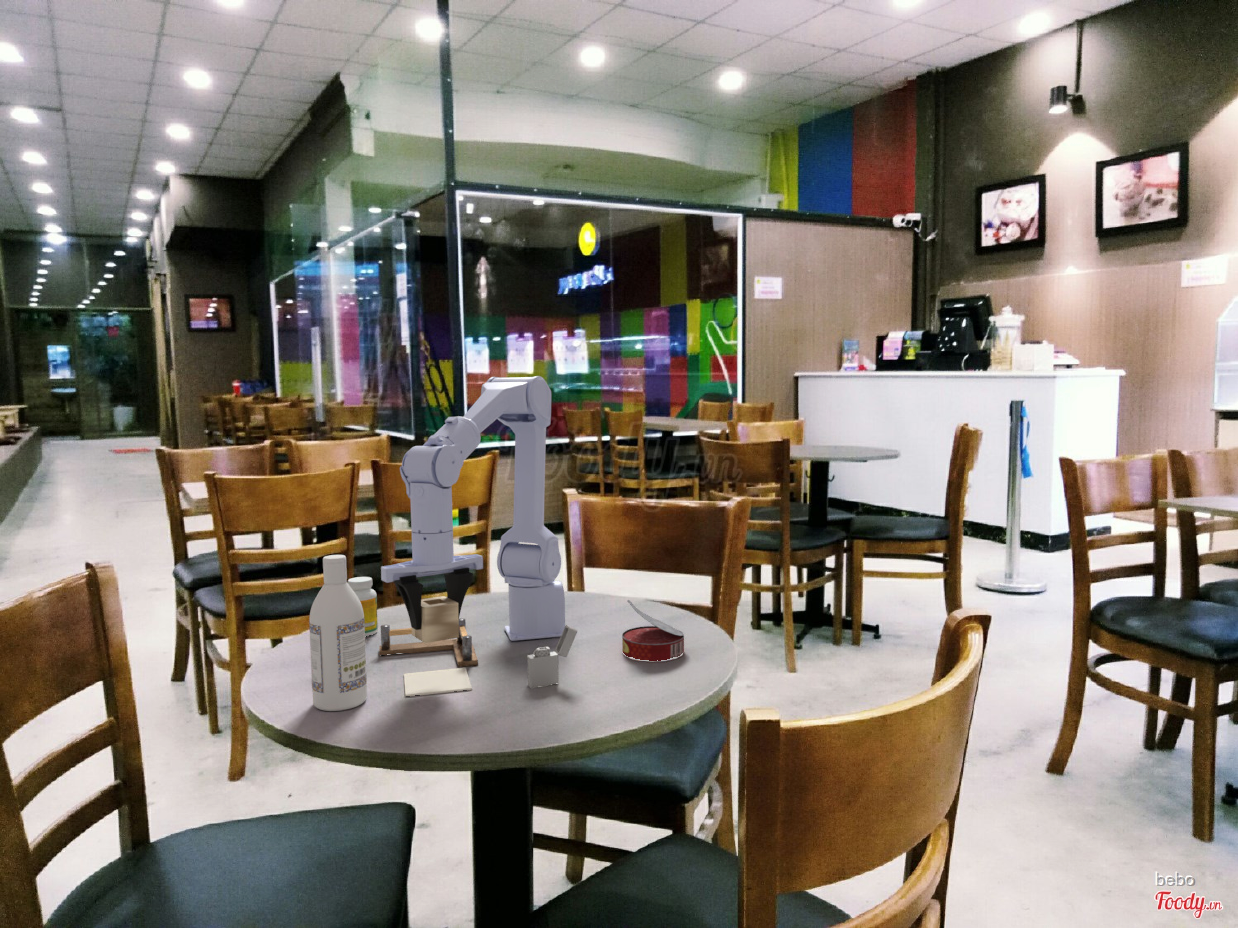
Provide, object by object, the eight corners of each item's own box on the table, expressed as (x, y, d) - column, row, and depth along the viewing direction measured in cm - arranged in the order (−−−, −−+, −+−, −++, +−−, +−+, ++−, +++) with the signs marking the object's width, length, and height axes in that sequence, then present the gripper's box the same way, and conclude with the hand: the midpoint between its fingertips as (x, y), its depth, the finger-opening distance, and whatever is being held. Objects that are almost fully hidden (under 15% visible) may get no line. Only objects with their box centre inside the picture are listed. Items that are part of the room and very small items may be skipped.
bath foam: (373, 693, 116) (368, 551, 114) (357, 712, 109) (351, 561, 107) (324, 693, 116) (318, 551, 114) (305, 712, 109) (298, 562, 107)
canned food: (636, 671, 138) (643, 612, 141) (692, 674, 133) (698, 612, 137) (603, 657, 129) (612, 594, 132) (662, 660, 124) (669, 594, 128)
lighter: (531, 688, 117) (530, 632, 116) (527, 684, 119) (526, 629, 118) (578, 681, 120) (577, 626, 119) (574, 677, 122) (573, 623, 121)
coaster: (465, 669, 125) (465, 667, 125) (471, 690, 117) (471, 687, 117) (403, 675, 123) (403, 673, 123) (405, 697, 114) (405, 694, 114)
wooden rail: (470, 642, 139) (469, 616, 138) (478, 665, 127) (477, 637, 127) (379, 650, 135) (378, 624, 135) (379, 675, 123) (378, 646, 123)
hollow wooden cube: (444, 629, 123) (443, 596, 122) (458, 637, 119) (458, 602, 118) (411, 634, 120) (411, 600, 119) (425, 643, 116) (424, 607, 115)
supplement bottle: (340, 633, 145) (338, 578, 144) (370, 627, 148) (368, 574, 148) (352, 640, 141) (350, 584, 140) (383, 634, 144) (381, 579, 143)
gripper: (467, 521, 125) (469, 610, 127) (372, 532, 117) (375, 627, 118) (488, 528, 120) (490, 620, 121) (390, 539, 111) (393, 638, 112)
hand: (435, 624), depth 119 cm, fingers closed on hollow wooden cube, 5 cm apart
